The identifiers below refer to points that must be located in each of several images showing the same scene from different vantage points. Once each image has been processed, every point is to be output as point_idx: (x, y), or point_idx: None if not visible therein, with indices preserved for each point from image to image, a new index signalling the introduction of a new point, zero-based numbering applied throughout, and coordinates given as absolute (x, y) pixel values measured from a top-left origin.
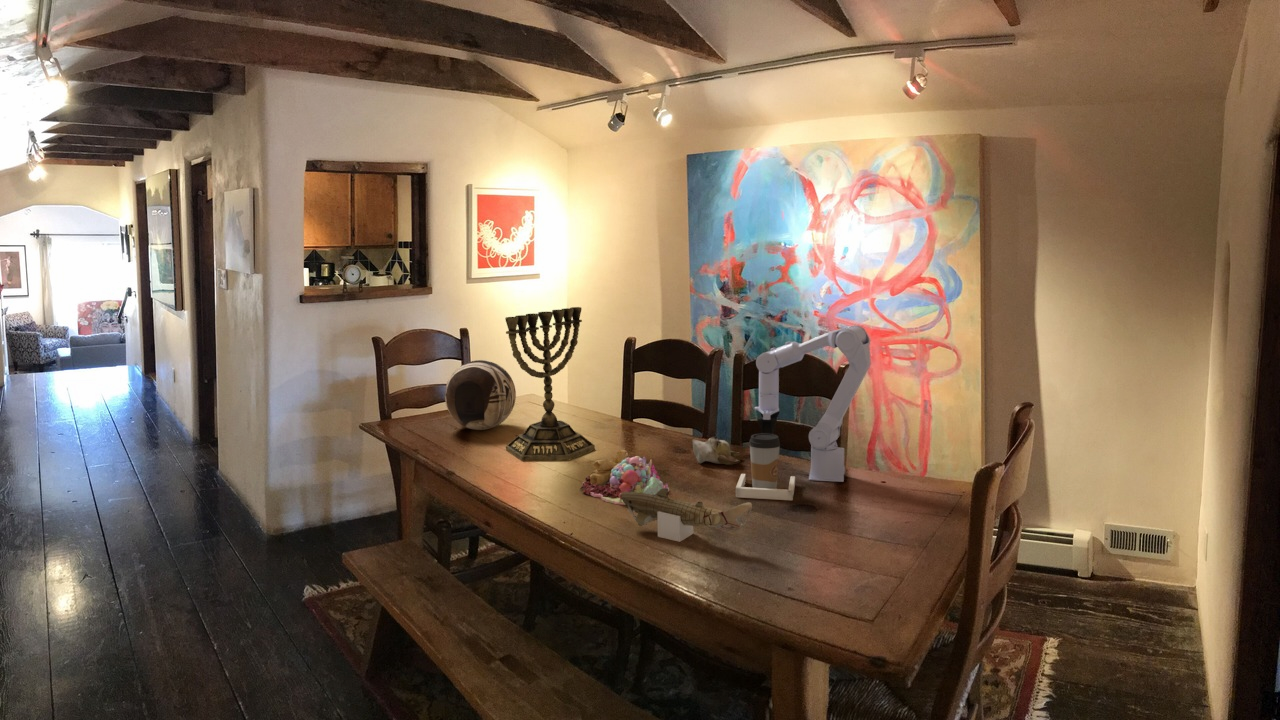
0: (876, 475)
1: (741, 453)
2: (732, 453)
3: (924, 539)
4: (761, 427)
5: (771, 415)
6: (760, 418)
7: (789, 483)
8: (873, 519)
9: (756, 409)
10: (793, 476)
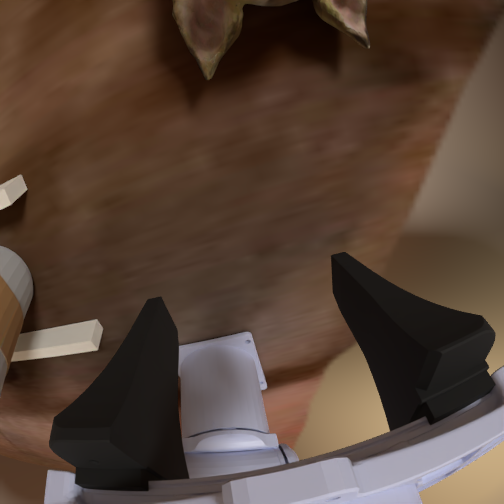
0: (282, 417)
1: (362, 46)
2: (319, 7)
3: (39, 455)
4: (96, 386)
5: (397, 398)
6: (80, 456)
7: (33, 350)
8: (45, 433)
9: (226, 499)
10: (93, 347)
